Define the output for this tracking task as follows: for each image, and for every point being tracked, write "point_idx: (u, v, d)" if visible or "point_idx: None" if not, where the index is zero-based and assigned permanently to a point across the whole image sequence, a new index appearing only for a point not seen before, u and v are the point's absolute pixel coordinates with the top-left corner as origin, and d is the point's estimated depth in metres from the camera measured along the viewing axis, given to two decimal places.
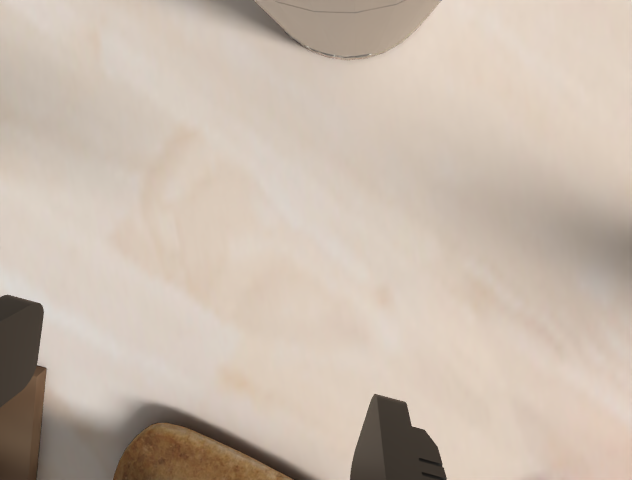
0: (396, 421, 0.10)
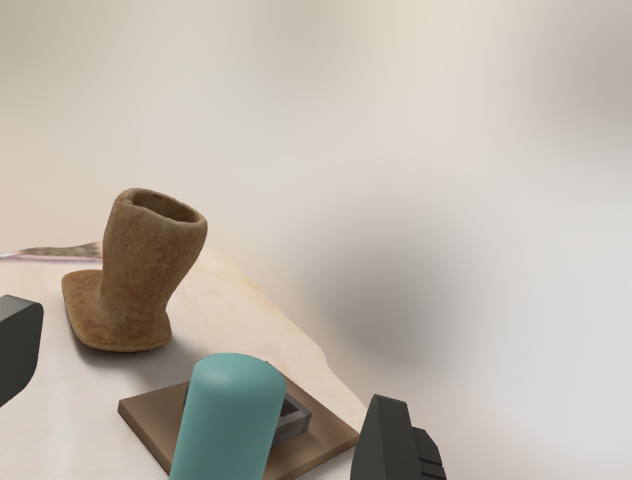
0: (396, 421, 0.10)
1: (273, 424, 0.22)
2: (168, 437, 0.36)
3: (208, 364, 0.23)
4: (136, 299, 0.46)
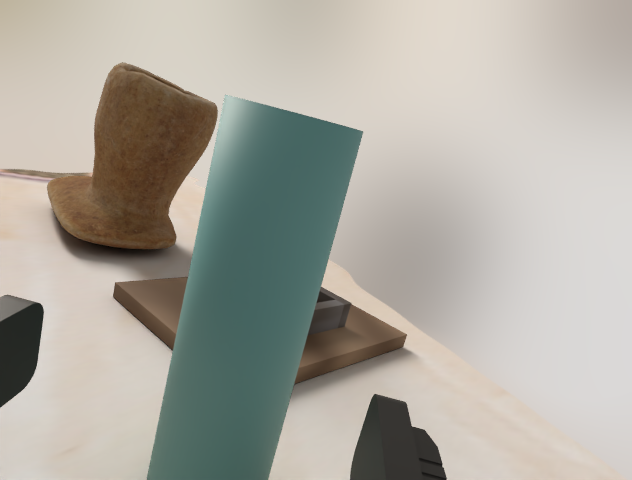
0: (396, 421, 0.10)
1: (346, 172, 0.14)
2: (177, 317, 0.28)
3: None
4: (134, 188, 0.39)
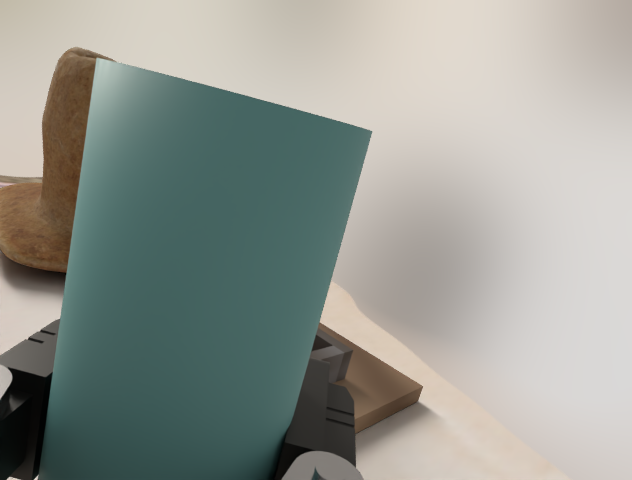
0: (315, 376, 0.11)
1: (339, 213, 0.07)
2: None
3: None
4: None
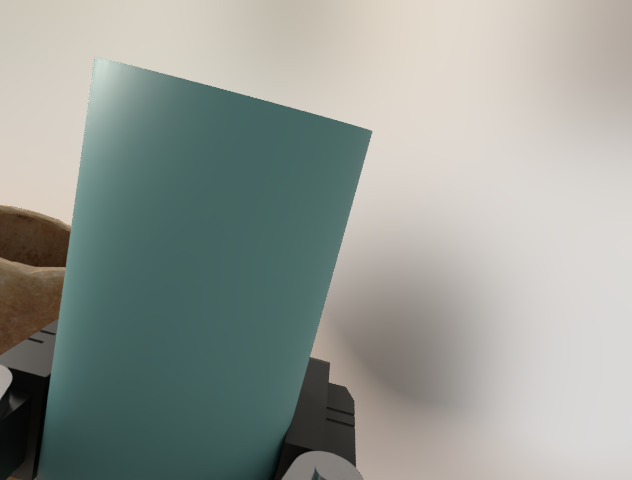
0: (314, 376, 0.11)
1: (340, 213, 0.07)
2: None
3: None
4: None
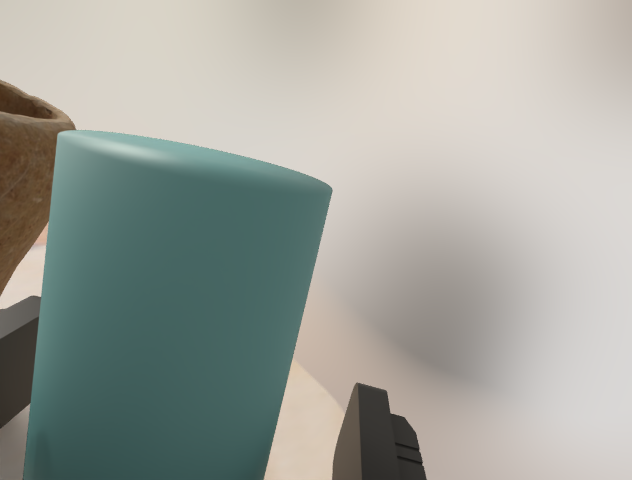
0: (375, 408, 0.10)
1: (300, 275, 0.07)
2: None
3: (119, 137, 0.08)
4: None
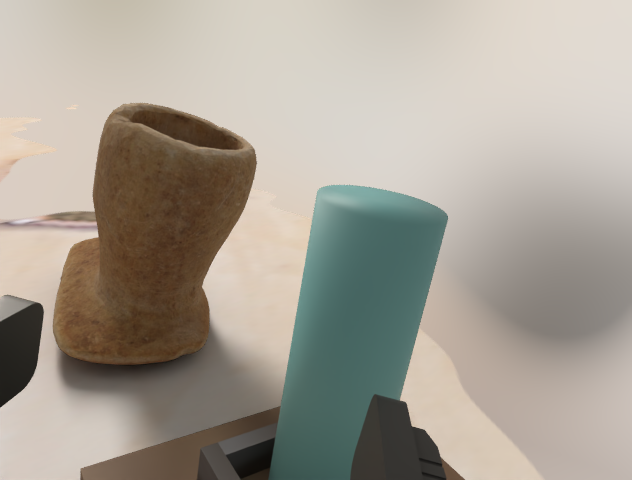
0: (396, 421, 0.10)
1: (431, 261, 0.15)
2: None
3: (336, 190, 0.17)
4: (143, 280, 0.28)
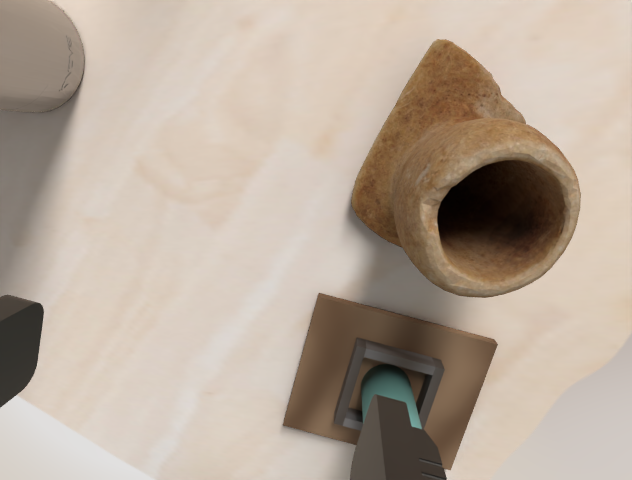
0: (396, 421, 0.10)
1: None
2: (314, 357, 0.42)
3: None
4: None
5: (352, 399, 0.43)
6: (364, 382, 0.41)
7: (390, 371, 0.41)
